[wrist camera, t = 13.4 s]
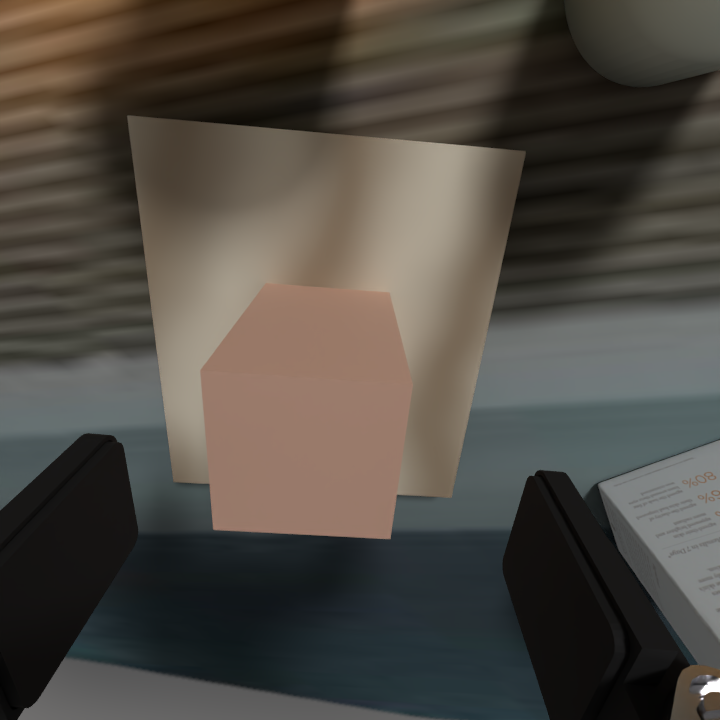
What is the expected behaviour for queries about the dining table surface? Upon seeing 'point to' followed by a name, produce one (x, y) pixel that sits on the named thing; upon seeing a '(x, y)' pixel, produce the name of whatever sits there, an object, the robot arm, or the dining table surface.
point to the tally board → (323, 258)
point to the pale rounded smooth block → (646, 38)
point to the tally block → (307, 414)
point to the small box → (674, 541)
